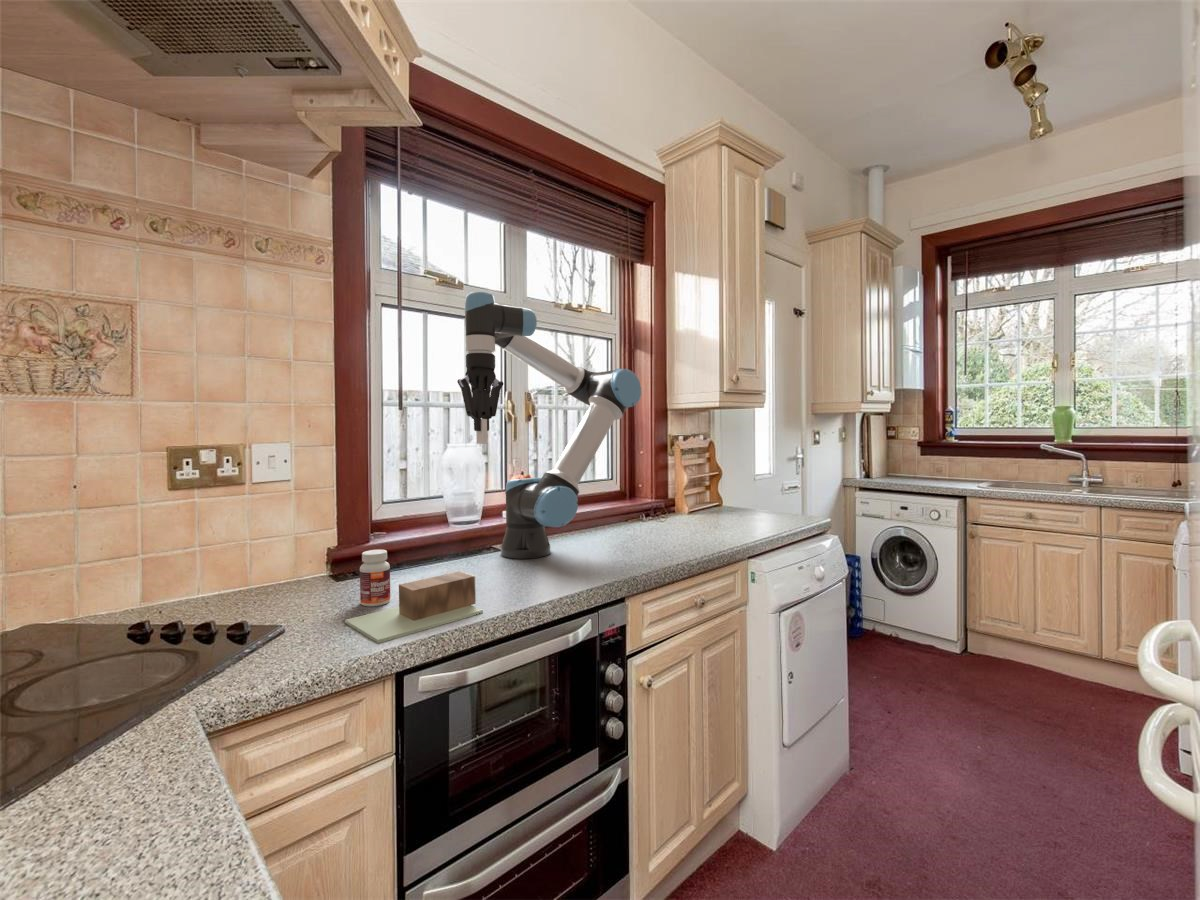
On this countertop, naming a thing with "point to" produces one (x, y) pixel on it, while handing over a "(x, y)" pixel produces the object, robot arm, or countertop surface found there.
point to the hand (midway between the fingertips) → (481, 443)
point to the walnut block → (436, 595)
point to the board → (403, 622)
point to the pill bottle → (374, 578)
